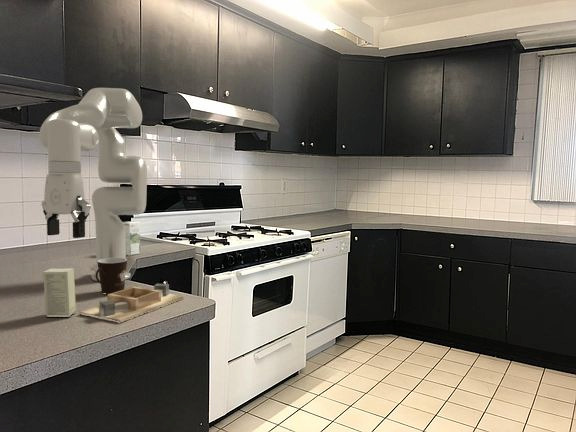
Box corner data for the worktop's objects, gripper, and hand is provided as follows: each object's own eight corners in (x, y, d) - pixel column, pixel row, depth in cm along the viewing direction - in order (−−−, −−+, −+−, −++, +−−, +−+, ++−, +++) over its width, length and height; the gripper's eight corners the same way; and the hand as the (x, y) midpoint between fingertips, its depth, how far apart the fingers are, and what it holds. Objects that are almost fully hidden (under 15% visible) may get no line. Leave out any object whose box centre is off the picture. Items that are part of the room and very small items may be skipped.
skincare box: (76, 313, 125) (75, 267, 124) (69, 318, 120) (68, 271, 119) (52, 313, 125) (50, 267, 123) (44, 318, 120) (42, 271, 119)
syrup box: (132, 252, 213) (131, 220, 211) (140, 254, 209) (140, 221, 208) (121, 254, 208) (120, 221, 207) (130, 256, 205) (129, 222, 203)
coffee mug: (118, 287, 152) (117, 256, 151) (133, 292, 147) (132, 260, 146) (83, 294, 143) (82, 261, 142) (97, 299, 138) (97, 265, 137)
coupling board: (79, 315, 123) (79, 300, 123) (146, 293, 146) (146, 280, 145) (120, 323, 117) (120, 307, 117) (183, 299, 140) (183, 286, 139)
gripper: (29, 168, 121) (30, 235, 122) (75, 168, 113) (76, 240, 114) (55, 169, 127) (56, 232, 129) (100, 169, 119) (101, 237, 121)
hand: (66, 236), depth 121 cm, fingers open, 9 cm apart
